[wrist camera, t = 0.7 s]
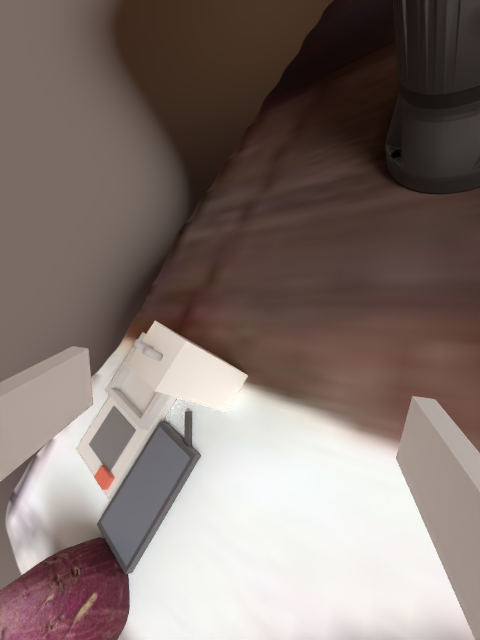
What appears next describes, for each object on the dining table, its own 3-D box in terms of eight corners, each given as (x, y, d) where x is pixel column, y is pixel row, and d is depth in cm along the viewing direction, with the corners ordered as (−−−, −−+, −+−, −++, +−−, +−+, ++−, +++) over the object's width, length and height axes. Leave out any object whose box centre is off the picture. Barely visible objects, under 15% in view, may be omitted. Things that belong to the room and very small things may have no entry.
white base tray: (159, 331, 46) (146, 324, 44) (200, 359, 40) (188, 353, 38) (83, 449, 44) (66, 447, 41) (115, 497, 38) (97, 499, 35)
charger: (218, 357, 39) (140, 312, 28) (248, 375, 36) (173, 333, 25) (198, 391, 38) (110, 358, 27) (226, 412, 35) (139, 386, 24)
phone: (103, 523, 37) (96, 524, 36) (166, 421, 39) (160, 420, 38) (132, 572, 33) (124, 574, 32) (201, 455, 34) (195, 455, 33)
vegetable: (82, 616, 37) (-95, 682, 27) (103, 521, 39) (-51, 550, 29) (118, 684, 29) (-108, 811, 19) (141, 562, 32) (-48, 619, 22)
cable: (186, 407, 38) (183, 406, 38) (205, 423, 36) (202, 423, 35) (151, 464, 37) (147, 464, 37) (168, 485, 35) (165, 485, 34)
